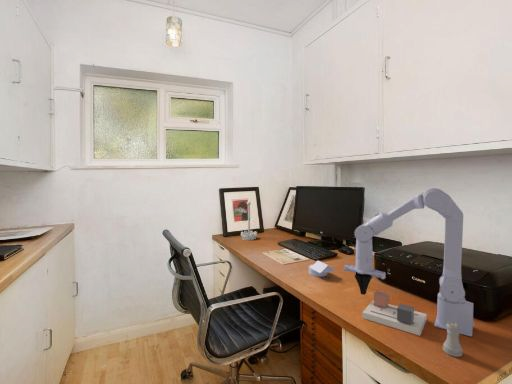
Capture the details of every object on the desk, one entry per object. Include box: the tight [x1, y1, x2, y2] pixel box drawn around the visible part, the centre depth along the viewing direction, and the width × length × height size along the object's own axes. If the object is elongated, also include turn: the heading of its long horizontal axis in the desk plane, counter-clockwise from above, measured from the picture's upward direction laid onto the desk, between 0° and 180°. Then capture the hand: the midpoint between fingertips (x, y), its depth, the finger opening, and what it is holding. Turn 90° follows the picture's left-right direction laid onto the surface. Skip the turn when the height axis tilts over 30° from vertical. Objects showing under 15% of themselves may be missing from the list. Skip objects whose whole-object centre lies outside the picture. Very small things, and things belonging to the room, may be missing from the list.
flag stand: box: [240, 201, 258, 241], centre depth 220 cm, size 13×13×30 cm
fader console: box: [361, 299, 428, 336], centre depth 92 cm, size 17×12×2 cm
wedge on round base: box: [308, 260, 336, 277], centre depth 136 cm, size 9×7×13 cm
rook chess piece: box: [442, 321, 464, 358], centre depth 74 cm, size 4×4×8 cm
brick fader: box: [373, 289, 390, 308], centre depth 98 cm, size 4×4×4 cm
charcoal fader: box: [397, 303, 415, 324], centre depth 87 cm, size 4×4×4 cm
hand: (363, 293), depth 102 cm, fingers closed
